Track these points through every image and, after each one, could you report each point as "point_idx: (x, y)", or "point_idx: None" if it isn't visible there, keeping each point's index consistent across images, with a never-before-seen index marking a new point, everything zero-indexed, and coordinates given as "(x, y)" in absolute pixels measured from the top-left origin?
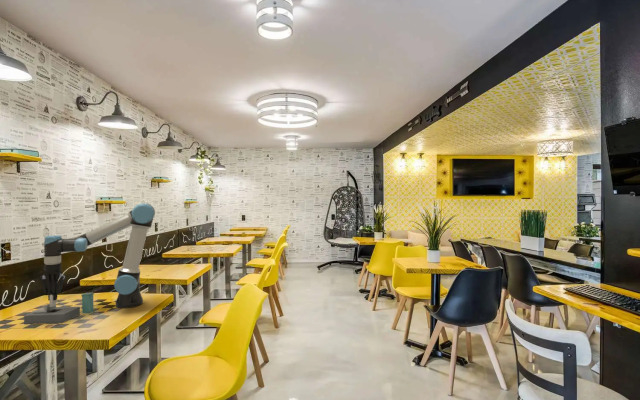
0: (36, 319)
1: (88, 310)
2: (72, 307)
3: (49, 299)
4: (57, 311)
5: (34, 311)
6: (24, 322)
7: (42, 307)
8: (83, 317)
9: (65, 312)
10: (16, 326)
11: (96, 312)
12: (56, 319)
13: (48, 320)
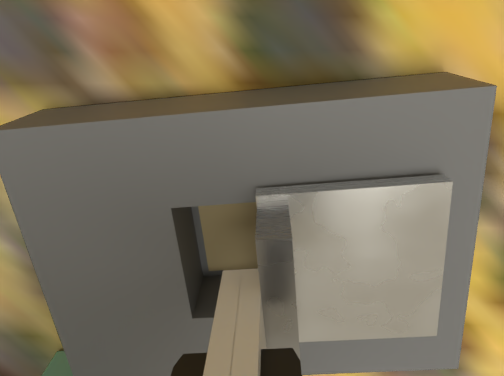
0: (316, 91)
1: (51, 370)
2: (131, 363)
3: (277, 363)
4: (172, 243)
5: (420, 183)
6: (449, 75)
7: (435, 331)
8: (11, 263)
9: (33, 205)
10: (486, 3)
11: (24, 370)
12: (90, 110)
13: (180, 101)
